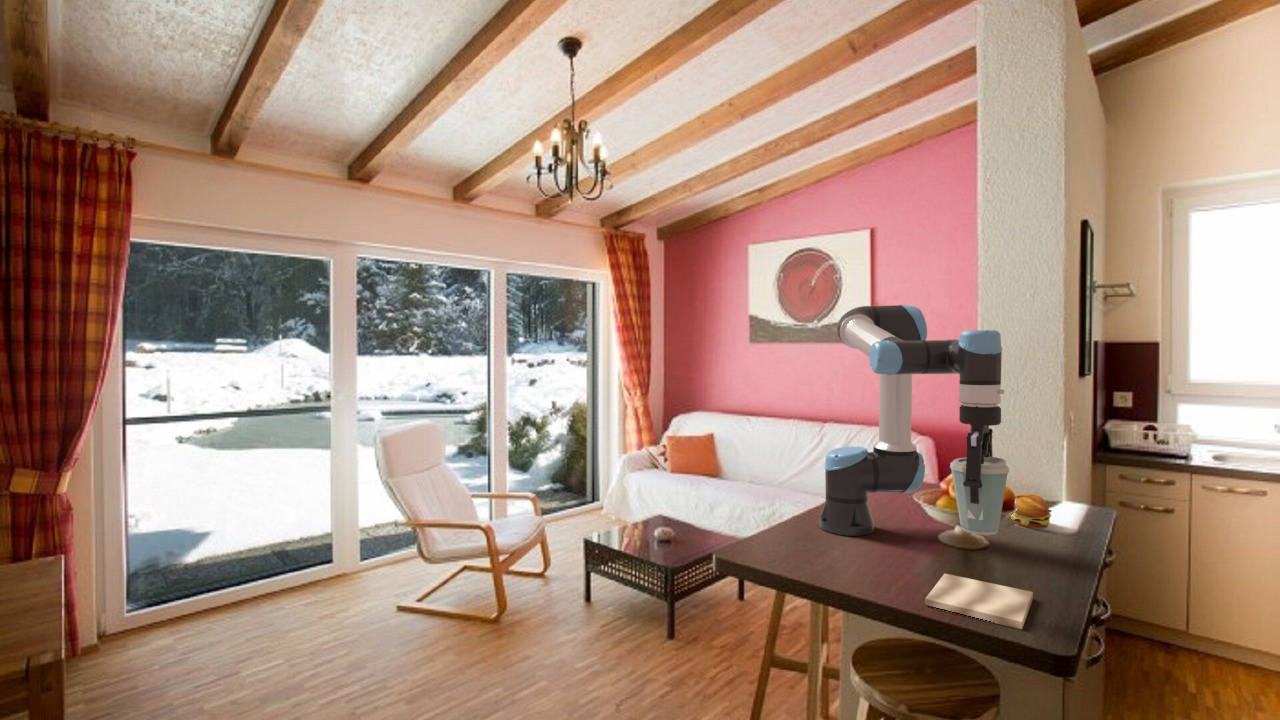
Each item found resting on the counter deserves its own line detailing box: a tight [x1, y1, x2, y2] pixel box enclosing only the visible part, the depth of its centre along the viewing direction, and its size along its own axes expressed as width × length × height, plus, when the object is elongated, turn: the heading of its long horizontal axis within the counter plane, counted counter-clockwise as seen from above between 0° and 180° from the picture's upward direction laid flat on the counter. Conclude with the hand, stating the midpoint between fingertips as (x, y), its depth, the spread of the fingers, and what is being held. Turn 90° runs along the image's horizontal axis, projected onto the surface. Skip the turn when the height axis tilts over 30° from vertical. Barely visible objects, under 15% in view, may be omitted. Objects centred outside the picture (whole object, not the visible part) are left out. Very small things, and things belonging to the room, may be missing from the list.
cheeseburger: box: [1010, 493, 1052, 529], centre depth 177 cm, size 10×11×10 cm
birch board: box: [924, 573, 1034, 630], centre depth 126 cm, size 17×17×2 cm
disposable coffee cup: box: [949, 456, 1010, 536], centre depth 124 cm, size 11×11×15 cm
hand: (979, 513), depth 125 cm, fingers open, 9 cm apart
